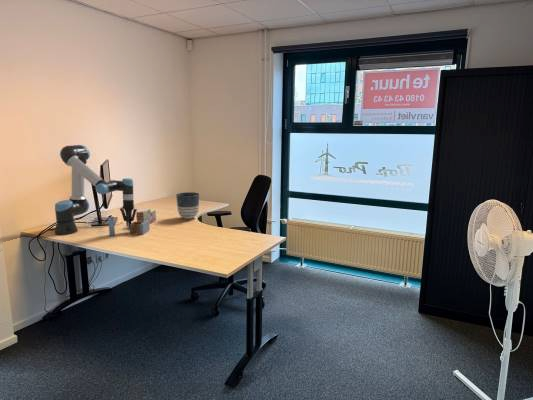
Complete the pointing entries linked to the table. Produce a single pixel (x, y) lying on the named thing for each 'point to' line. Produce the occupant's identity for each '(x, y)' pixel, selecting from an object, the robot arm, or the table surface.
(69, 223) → the robot arm
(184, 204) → the planter
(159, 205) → the table surface
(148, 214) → the stack of blocks
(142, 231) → the wall
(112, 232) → the dowel
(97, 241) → the table surface
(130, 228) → the slider block
